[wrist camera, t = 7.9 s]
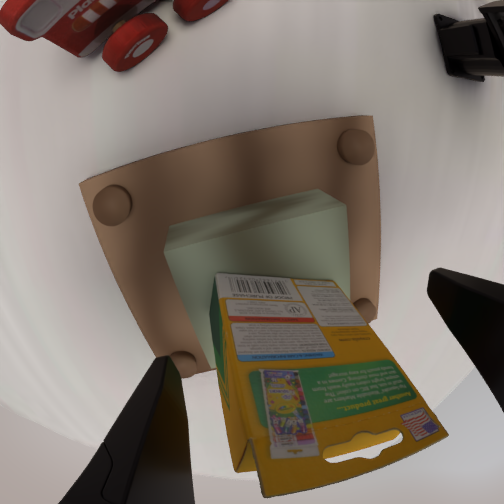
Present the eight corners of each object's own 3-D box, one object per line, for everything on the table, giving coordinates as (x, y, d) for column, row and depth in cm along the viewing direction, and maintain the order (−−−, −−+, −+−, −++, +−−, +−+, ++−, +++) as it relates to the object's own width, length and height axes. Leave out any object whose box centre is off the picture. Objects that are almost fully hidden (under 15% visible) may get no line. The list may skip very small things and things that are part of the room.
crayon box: (208, 315, 16) (240, 519, 6) (214, 270, 15) (259, 497, 5) (321, 319, 18) (410, 471, 8) (335, 279, 17) (453, 432, 7)
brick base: (361, 115, 18) (408, 117, 13) (369, 309, 26) (398, 344, 22) (86, 179, 17) (51, 199, 12) (169, 367, 25) (169, 414, 20)
